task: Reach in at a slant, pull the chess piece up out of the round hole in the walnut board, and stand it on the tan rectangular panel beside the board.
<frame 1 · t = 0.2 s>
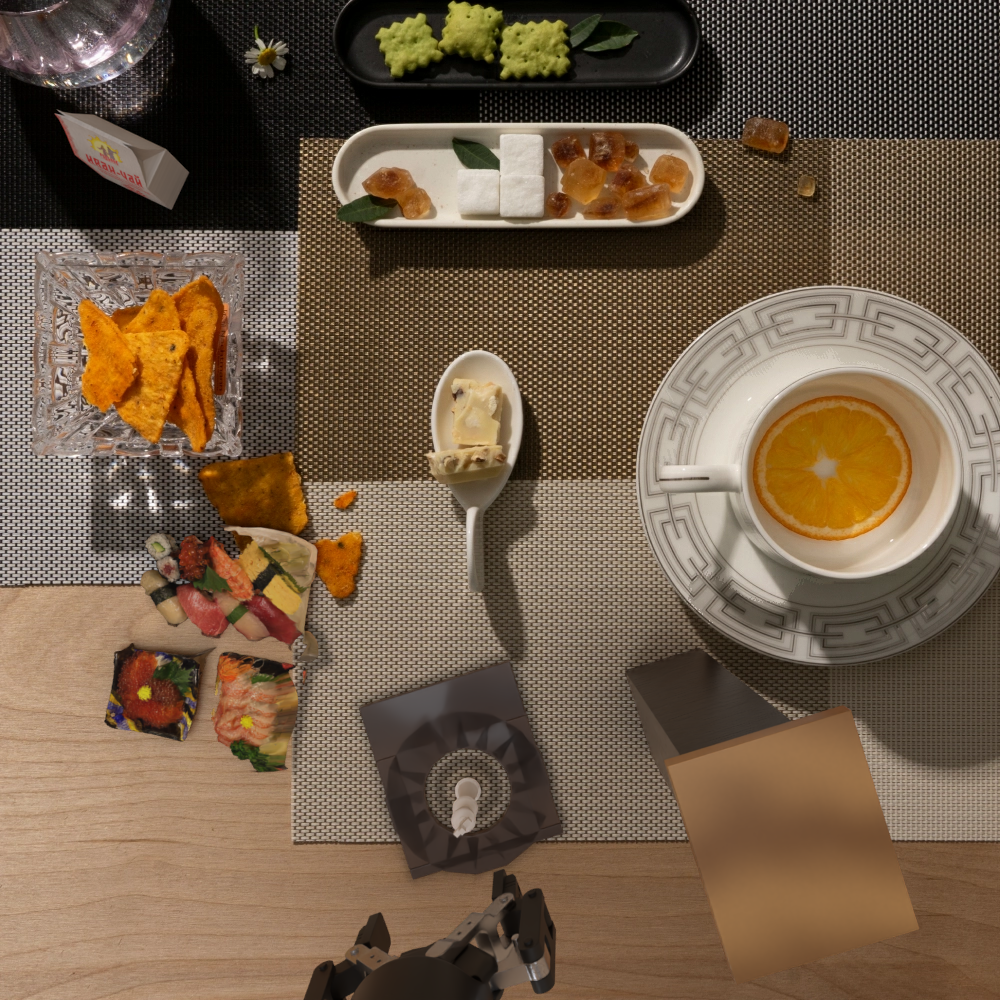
hand: (443, 904, 51), 20 cm above the table, tool pointing down, fingers open, 8 cm apart
board: (462, 763, 71), on the table
tan rectangular panel: (790, 843, 41), on the pillar, point 29 cm above the table
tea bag: (153, 181, 71), on the table
chess piece: (468, 783, 71), resting in board
food: (229, 640, 71), on the table
pillar: (672, 698, 71), on the table
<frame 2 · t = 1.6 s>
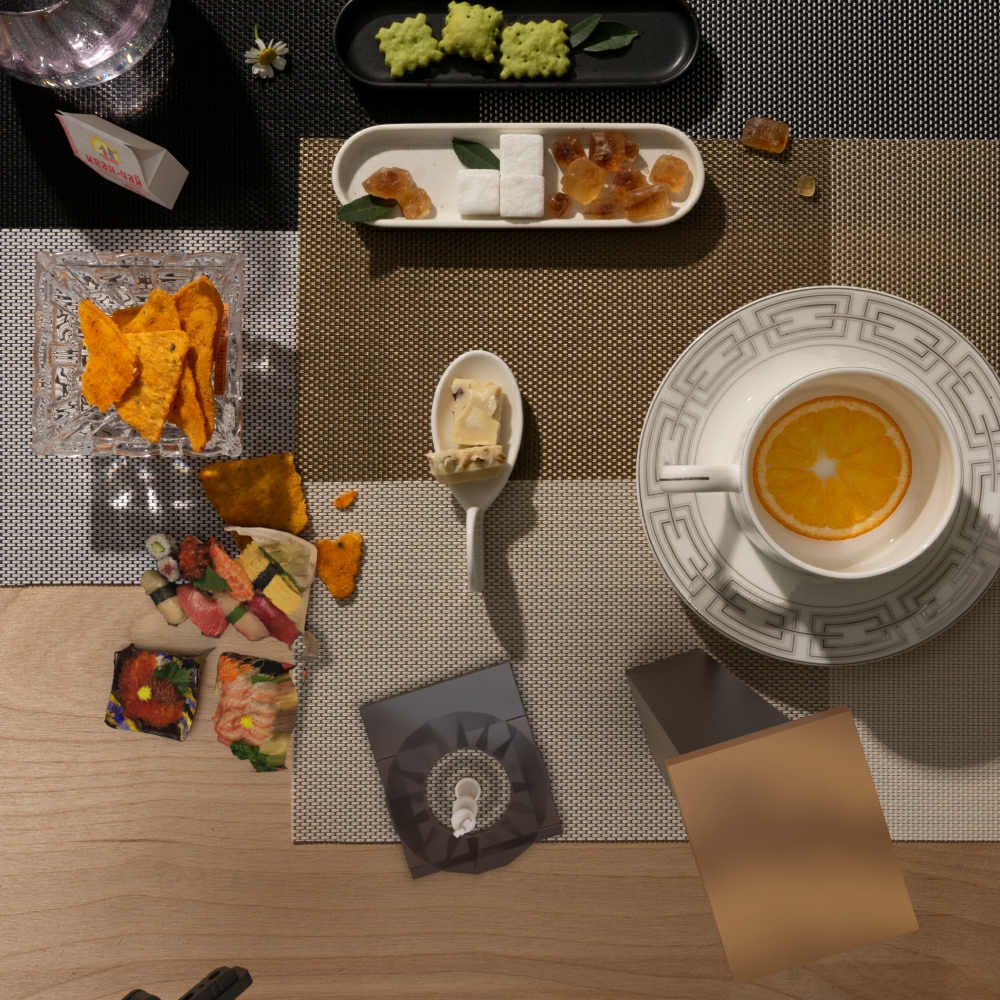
nothing on the table moved.
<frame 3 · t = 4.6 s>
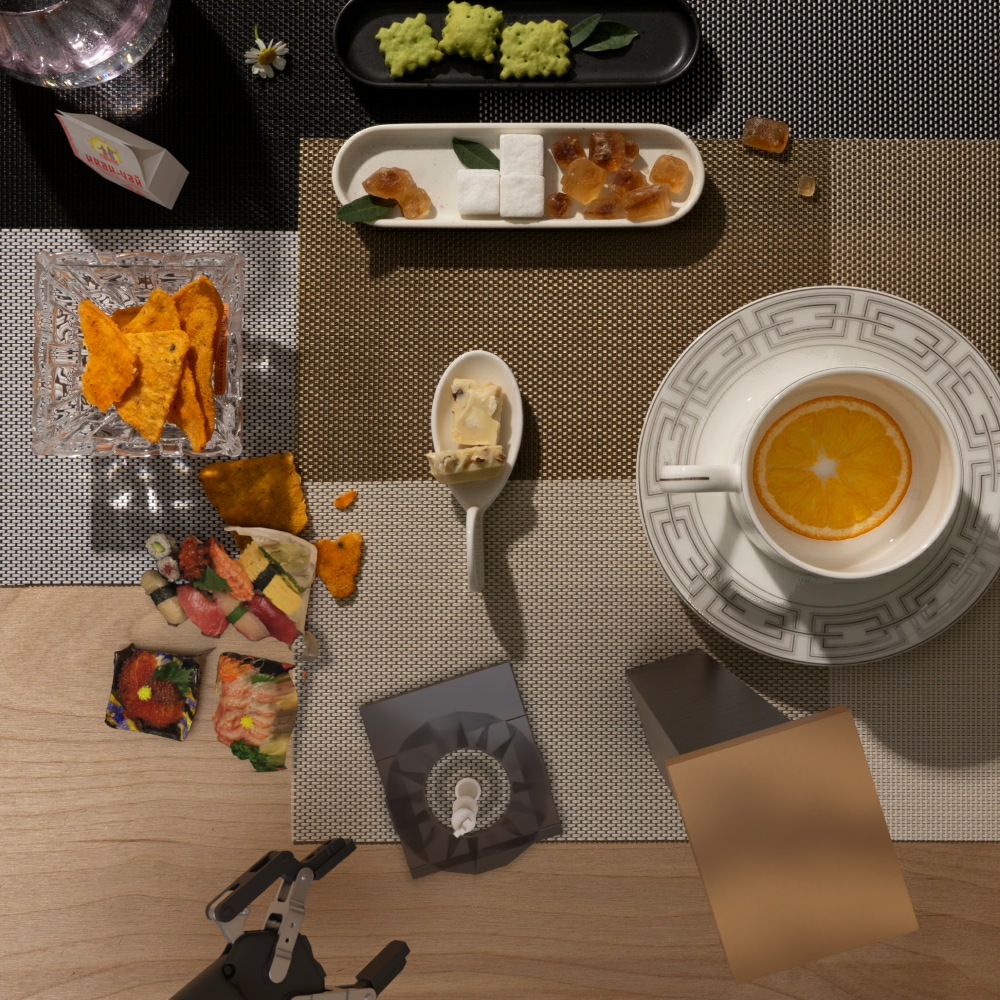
hand: (376, 893, 58), 13 cm above the table, tool tilted 45°, fingers open, 8 cm apart
nothing on the table moved.
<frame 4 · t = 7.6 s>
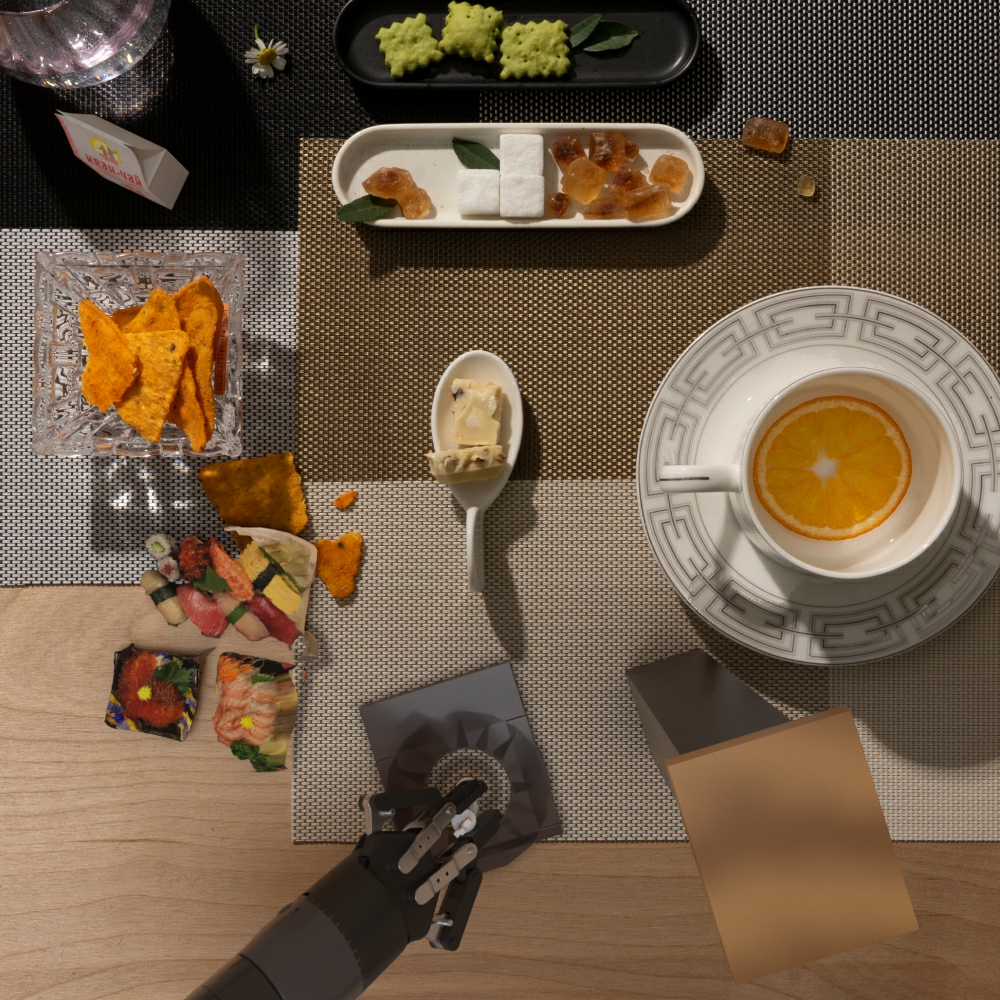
hand: (487, 798, 65), 6 cm above the table, tool tilted 45°, fingers closed on chess piece
chess piece: (468, 783, 71), resting in board, touching gripper
everything else where it was.
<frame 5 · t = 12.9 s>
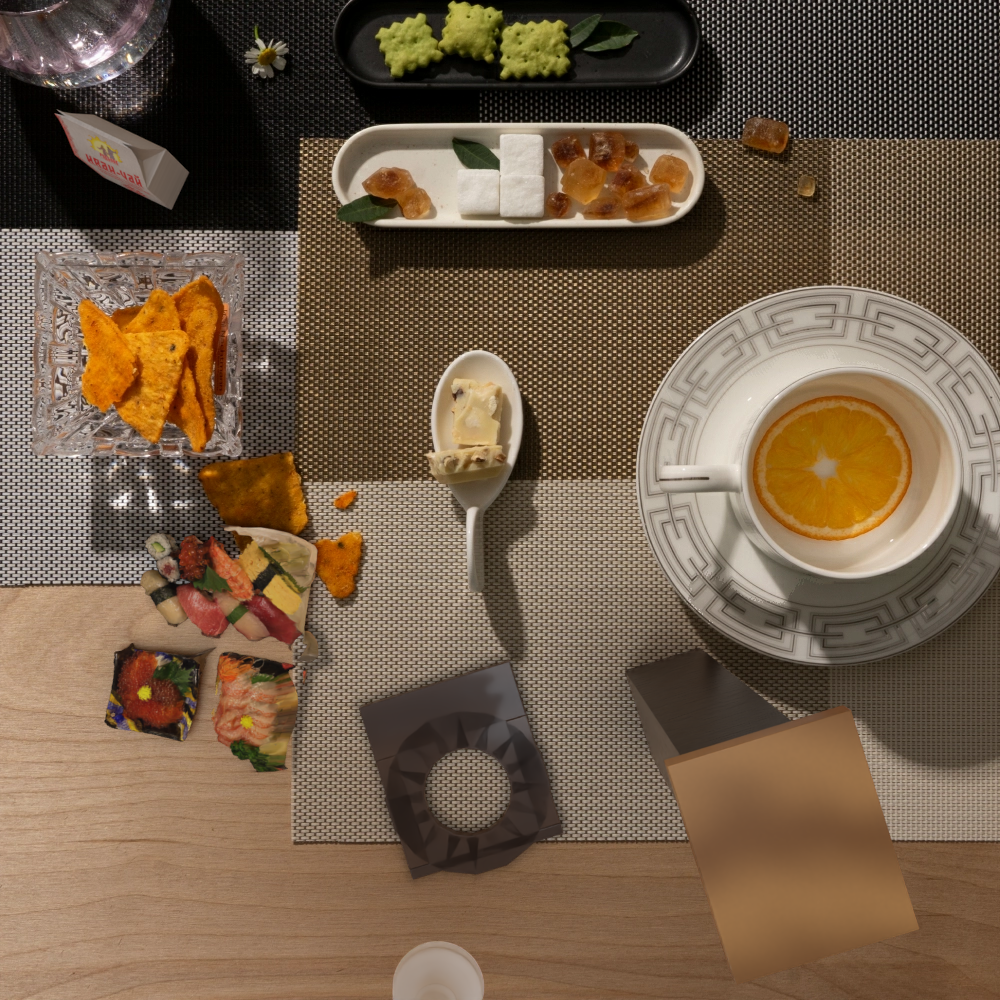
chess piece: (438, 983, 42), point 29 cm above the table, touching gripper
everything else where it was.
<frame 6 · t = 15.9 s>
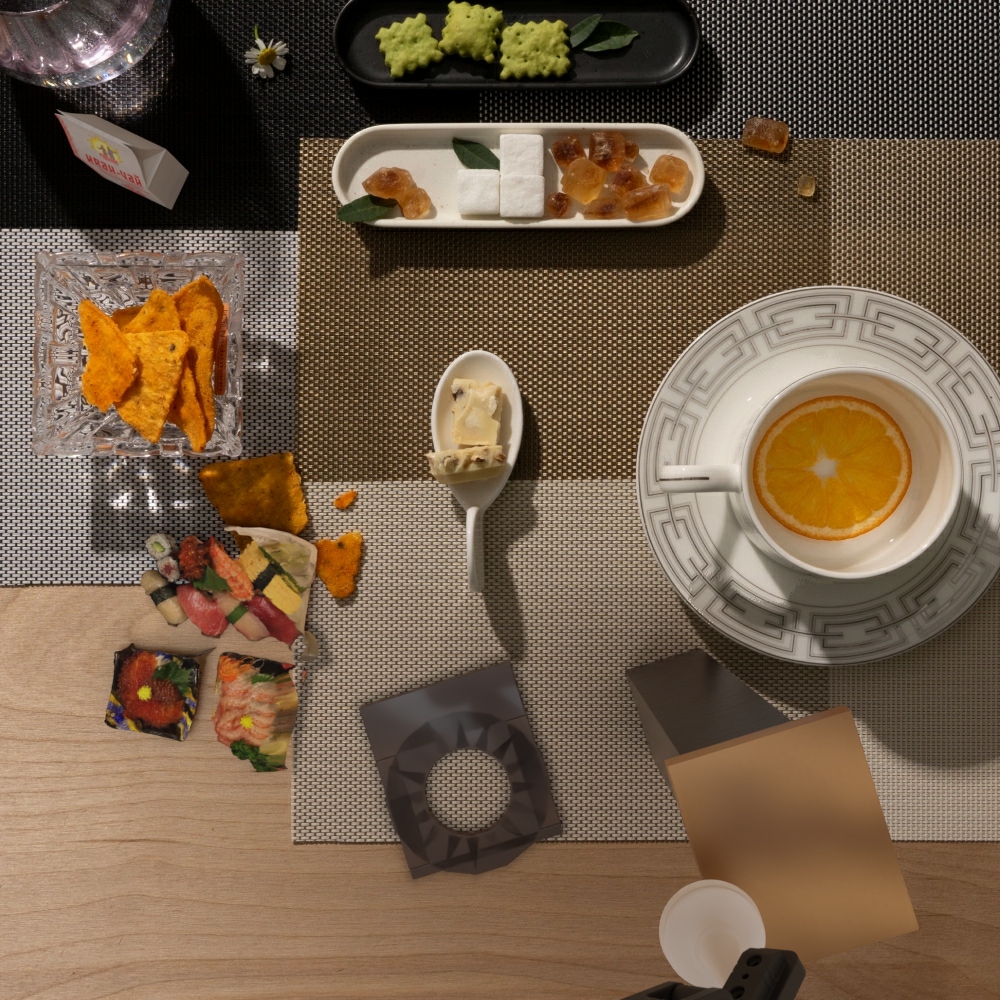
hand: (795, 987, 31), 40 cm above the table, tool tilted 45°, fingers closed on chess piece
chess piece: (709, 928, 37), point 33 cm above the table, touching gripper
everything else where it was.
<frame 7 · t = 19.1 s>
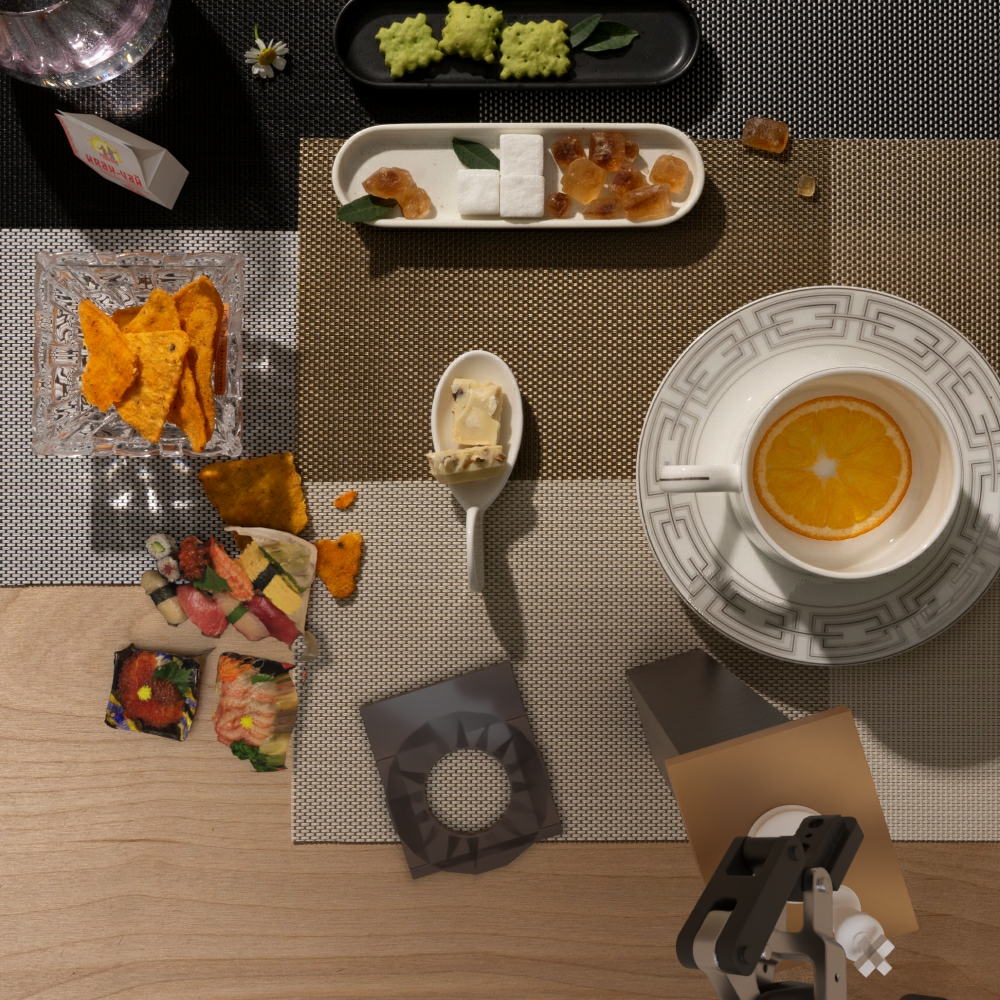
hand: (884, 912, 33), 37 cm above the table, tool tilted 45°, fingers open, 8 cm apart
chess piece: (790, 849, 41), point 30 cm above the table, touching tan rectangular panel
everything else where it was.
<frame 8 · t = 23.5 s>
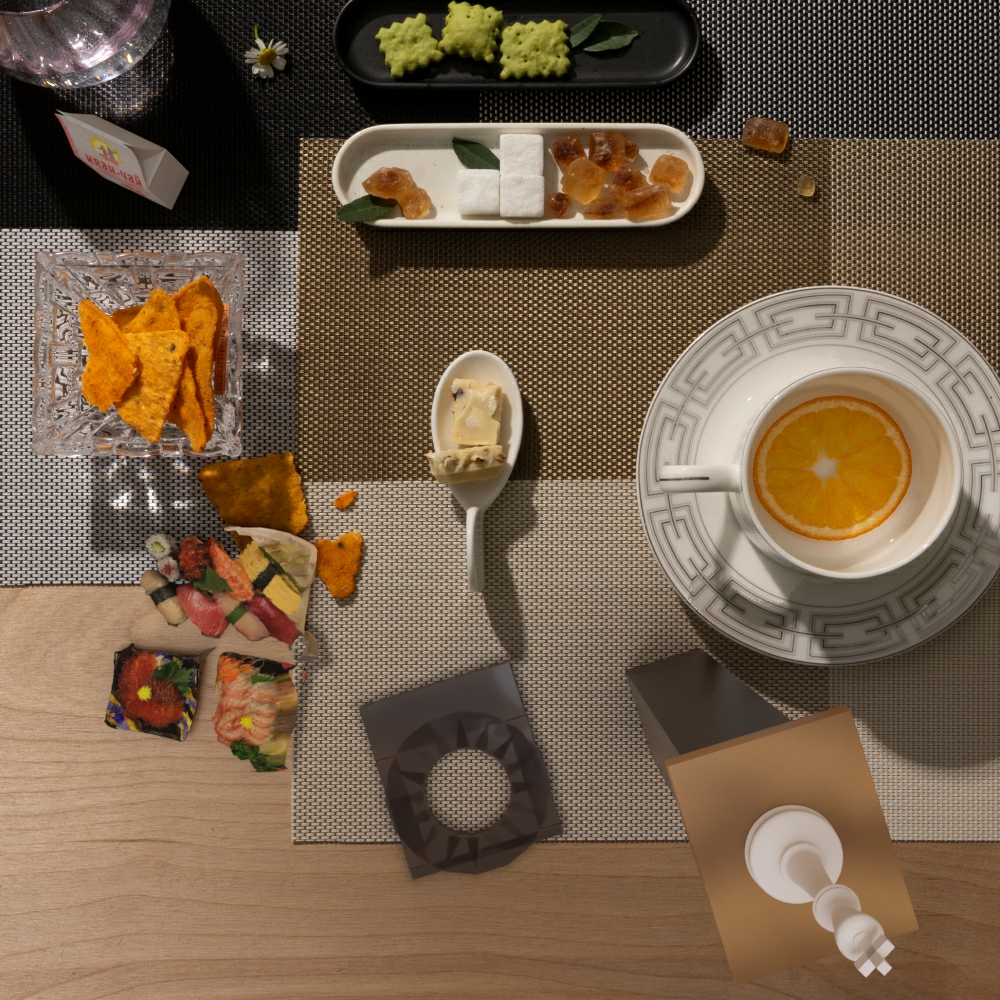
nothing on the table moved.
at the end: chess piece 0.1 cm off-centre on the tan rectangular panel, point 29.8 cm above the tan rectangular panel's base; chess piece tilted 0°; the gripper is holding nothing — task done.
